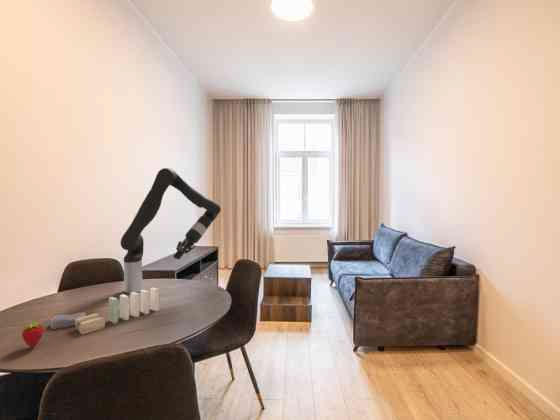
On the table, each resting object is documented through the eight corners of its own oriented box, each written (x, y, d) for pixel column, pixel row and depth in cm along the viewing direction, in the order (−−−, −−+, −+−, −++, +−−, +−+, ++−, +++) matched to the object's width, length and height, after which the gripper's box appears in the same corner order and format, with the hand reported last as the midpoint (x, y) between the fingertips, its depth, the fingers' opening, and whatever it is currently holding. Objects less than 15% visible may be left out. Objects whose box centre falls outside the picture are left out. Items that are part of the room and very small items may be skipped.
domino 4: (145, 314, 135) (145, 292, 135) (140, 311, 138) (140, 290, 138) (149, 313, 136) (148, 291, 136) (144, 310, 140) (143, 289, 139)
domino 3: (135, 317, 132) (135, 294, 131) (130, 314, 135) (130, 292, 135) (139, 316, 133) (138, 293, 133) (134, 313, 136) (133, 291, 136)
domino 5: (155, 311, 139) (155, 290, 138) (150, 309, 142) (149, 288, 142) (158, 310, 140) (158, 289, 140) (153, 308, 143) (153, 287, 143)
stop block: (75, 328, 120) (75, 318, 120) (97, 322, 126) (97, 313, 126) (82, 334, 115) (81, 324, 115) (104, 327, 121) (104, 317, 121)
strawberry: (44, 341, 109) (44, 314, 109) (43, 349, 103) (43, 320, 103) (23, 345, 106) (22, 317, 106) (21, 354, 100) (20, 324, 99)
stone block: (54, 326, 127) (48, 330, 118) (54, 314, 128) (49, 317, 119) (87, 322, 133) (84, 325, 124) (87, 310, 133) (85, 313, 125)
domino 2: (125, 320, 128) (124, 297, 128) (120, 317, 131) (119, 295, 131) (128, 319, 129) (128, 296, 129) (124, 316, 133) (123, 294, 132)
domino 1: (113, 323, 125) (113, 299, 125) (109, 320, 128) (108, 297, 128) (117, 322, 126) (117, 299, 126) (113, 319, 129) (112, 296, 129)
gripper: (184, 227, 165) (164, 252, 156) (199, 228, 156) (178, 255, 147) (193, 236, 169) (173, 261, 160) (207, 237, 160) (188, 264, 151)
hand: (176, 258), depth 153 cm, fingers closed
